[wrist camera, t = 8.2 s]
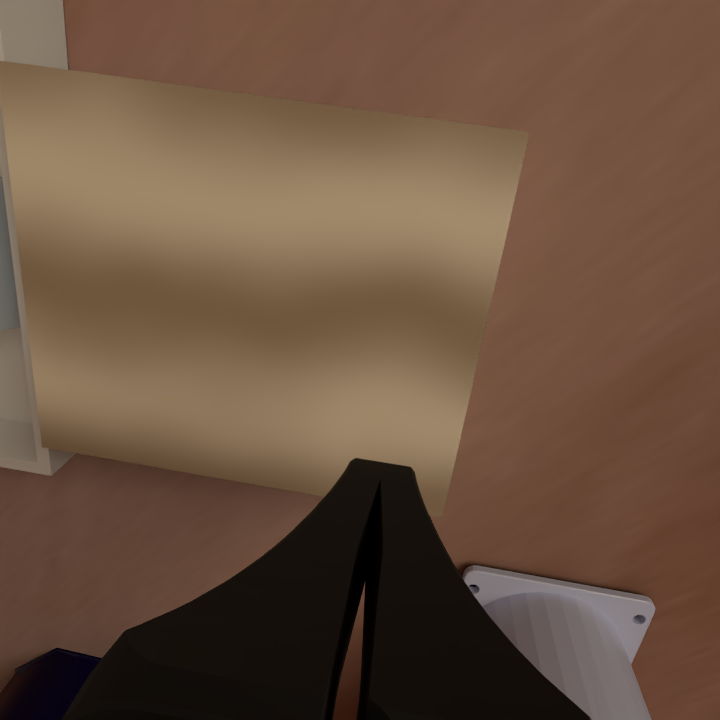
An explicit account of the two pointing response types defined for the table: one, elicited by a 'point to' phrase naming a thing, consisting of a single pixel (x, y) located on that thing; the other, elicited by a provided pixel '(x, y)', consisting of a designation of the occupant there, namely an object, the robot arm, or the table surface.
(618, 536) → the table surface
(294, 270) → the board
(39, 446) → the box
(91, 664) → the bottle
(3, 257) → the slate tile
